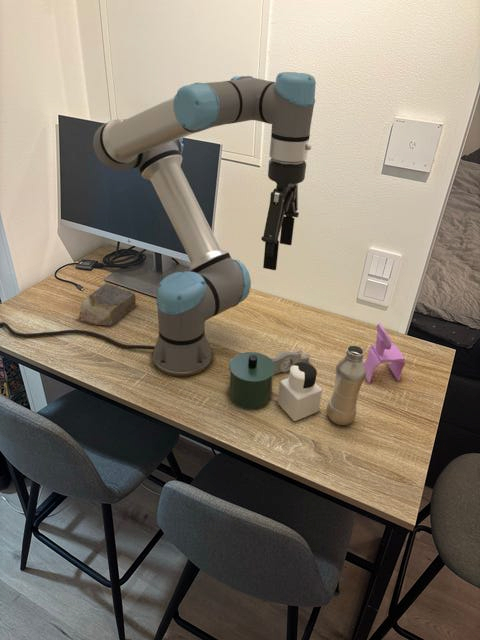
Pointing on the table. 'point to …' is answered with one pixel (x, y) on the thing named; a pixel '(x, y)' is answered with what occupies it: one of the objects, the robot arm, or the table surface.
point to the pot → (250, 393)
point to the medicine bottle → (300, 392)
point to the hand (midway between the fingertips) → (278, 255)
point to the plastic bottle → (347, 386)
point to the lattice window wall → (293, 358)
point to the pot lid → (252, 367)
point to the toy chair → (384, 355)
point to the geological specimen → (107, 305)
